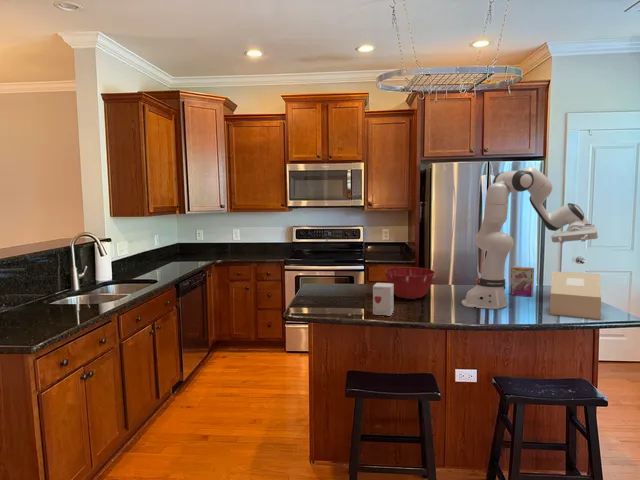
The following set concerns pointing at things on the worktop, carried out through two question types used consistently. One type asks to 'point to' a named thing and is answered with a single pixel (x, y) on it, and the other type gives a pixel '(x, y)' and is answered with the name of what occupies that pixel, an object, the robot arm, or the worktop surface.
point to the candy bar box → (522, 281)
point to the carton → (575, 306)
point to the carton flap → (576, 284)
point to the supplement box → (383, 299)
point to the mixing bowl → (410, 281)
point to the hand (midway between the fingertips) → (571, 241)
